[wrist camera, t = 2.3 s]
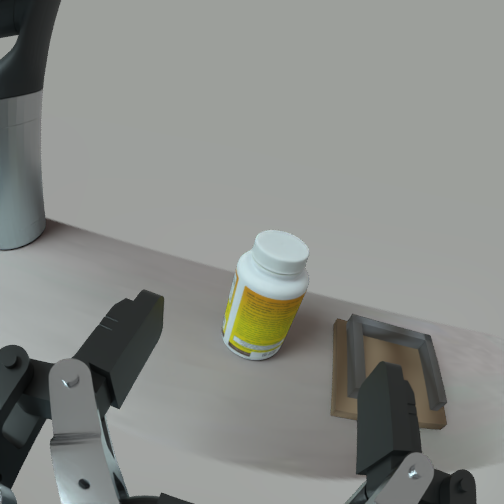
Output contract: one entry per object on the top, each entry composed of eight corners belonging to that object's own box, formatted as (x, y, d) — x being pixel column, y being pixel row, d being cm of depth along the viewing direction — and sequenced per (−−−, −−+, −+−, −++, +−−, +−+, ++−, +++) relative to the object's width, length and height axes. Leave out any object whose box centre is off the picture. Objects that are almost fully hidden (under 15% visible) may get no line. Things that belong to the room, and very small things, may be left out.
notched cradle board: (330, 415, 22) (344, 400, 20) (333, 324, 31) (343, 308, 30) (440, 429, 21) (456, 416, 20) (424, 348, 30) (435, 334, 29)
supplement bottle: (291, 354, 27) (335, 264, 21) (235, 369, 24) (268, 273, 18) (263, 311, 30) (294, 222, 25) (211, 321, 28) (232, 224, 22)
